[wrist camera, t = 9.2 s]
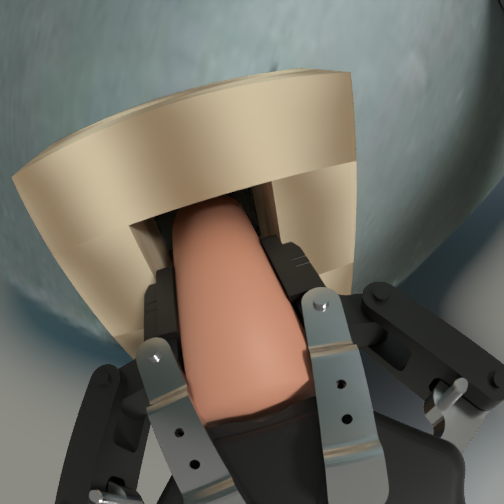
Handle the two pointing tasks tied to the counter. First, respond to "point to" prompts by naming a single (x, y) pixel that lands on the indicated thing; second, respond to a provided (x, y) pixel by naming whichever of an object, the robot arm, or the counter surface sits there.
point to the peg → (235, 318)
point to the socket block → (198, 182)
